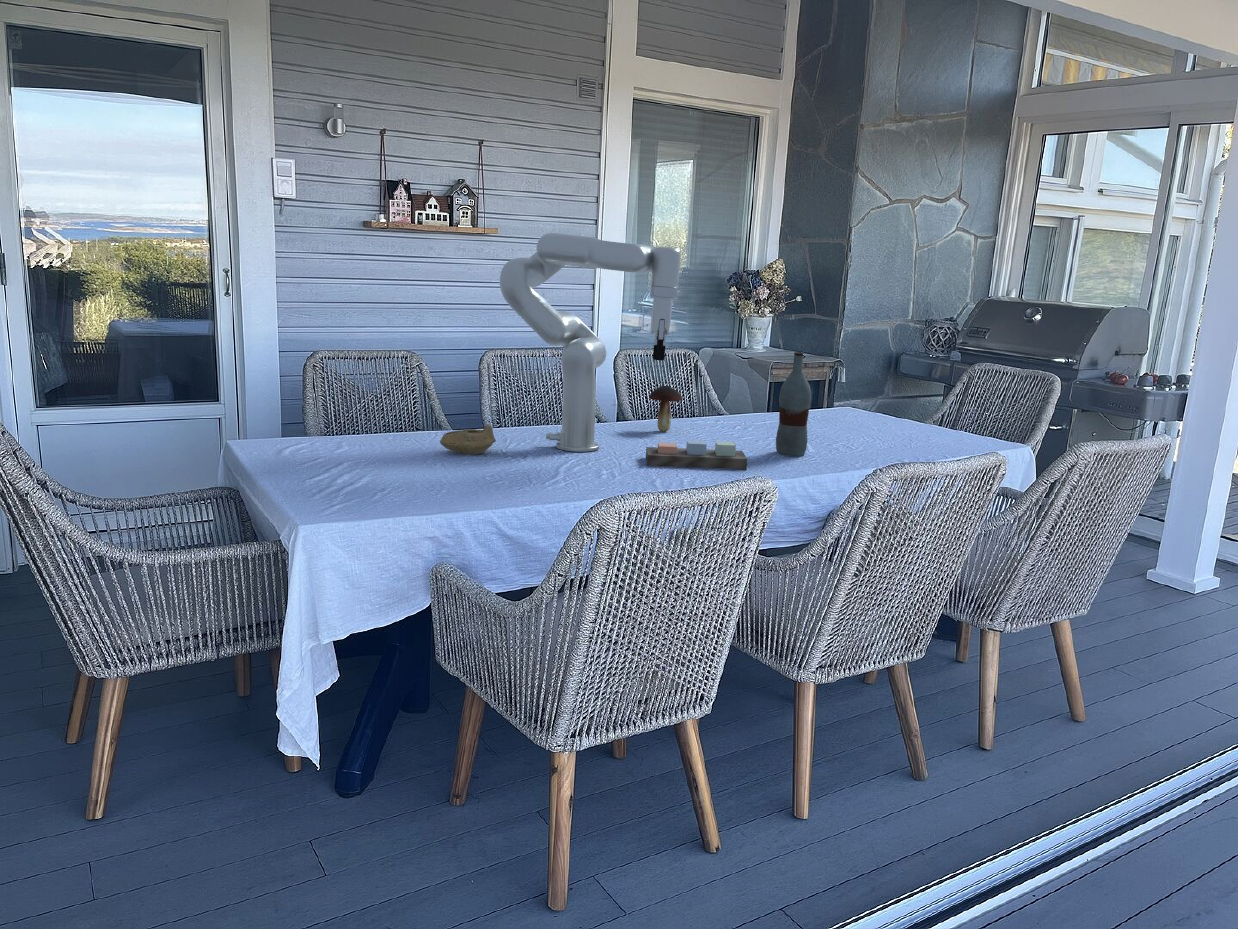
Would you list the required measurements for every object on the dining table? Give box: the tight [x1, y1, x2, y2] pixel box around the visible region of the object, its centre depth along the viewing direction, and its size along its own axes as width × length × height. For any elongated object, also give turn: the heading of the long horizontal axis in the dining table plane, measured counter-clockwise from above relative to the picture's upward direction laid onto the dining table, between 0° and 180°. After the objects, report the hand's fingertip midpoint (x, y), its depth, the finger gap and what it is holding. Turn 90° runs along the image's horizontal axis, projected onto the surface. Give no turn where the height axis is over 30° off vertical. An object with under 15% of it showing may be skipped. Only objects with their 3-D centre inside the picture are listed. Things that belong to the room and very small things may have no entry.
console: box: [645, 446, 748, 471], centre depth 267 cm, size 27×11×3 cm, turn 91°
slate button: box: [685, 439, 707, 455], centre depth 266 cm, size 5×5×4 cm
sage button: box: [714, 440, 737, 456], centre depth 266 cm, size 5×5×4 cm
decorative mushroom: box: [648, 385, 684, 433], centre depth 311 cm, size 11×11×15 cm
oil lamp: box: [439, 424, 497, 456], centre depth 267 cm, size 11×15×8 cm
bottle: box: [775, 351, 812, 457], centre depth 283 cm, size 9×9×30 cm
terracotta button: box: [657, 442, 678, 454], centre depth 266 cm, size 5×5×4 cm
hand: (658, 359), depth 269 cm, fingers closed
